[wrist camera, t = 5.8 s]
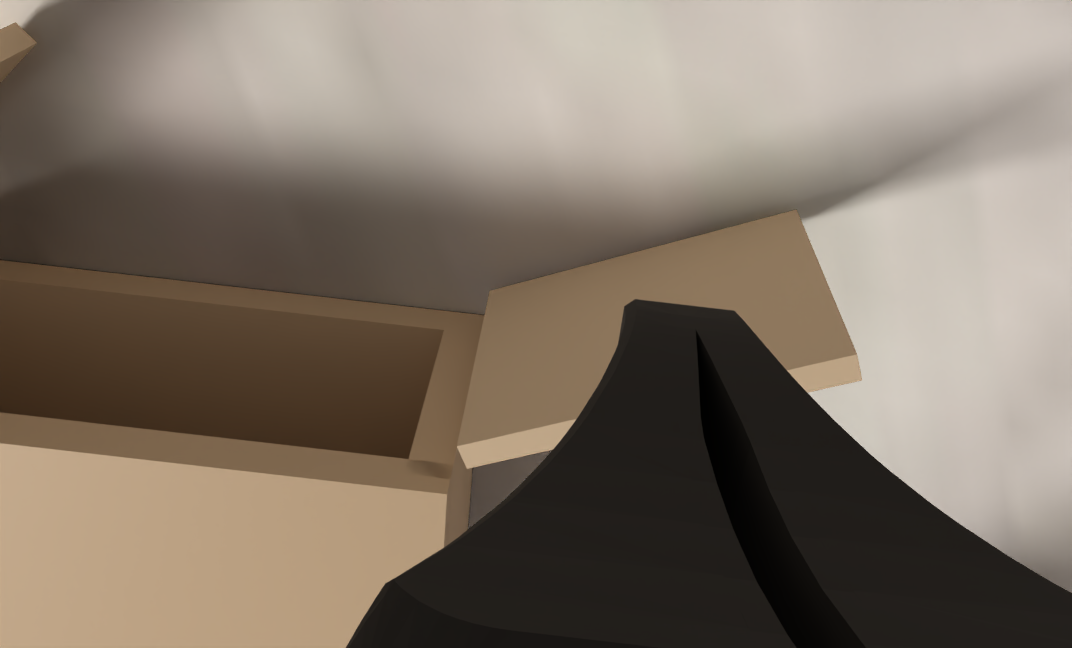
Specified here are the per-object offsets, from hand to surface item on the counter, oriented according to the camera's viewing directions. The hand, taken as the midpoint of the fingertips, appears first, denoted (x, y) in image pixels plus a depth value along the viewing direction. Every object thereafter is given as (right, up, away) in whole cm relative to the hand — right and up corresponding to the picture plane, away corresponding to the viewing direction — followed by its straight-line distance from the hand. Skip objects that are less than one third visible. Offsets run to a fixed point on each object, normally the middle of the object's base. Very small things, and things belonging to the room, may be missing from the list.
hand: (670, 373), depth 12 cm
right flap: (0, +2, +8) cm, 8 cm away
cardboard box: (-10, -4, +13) cm, 17 cm away
